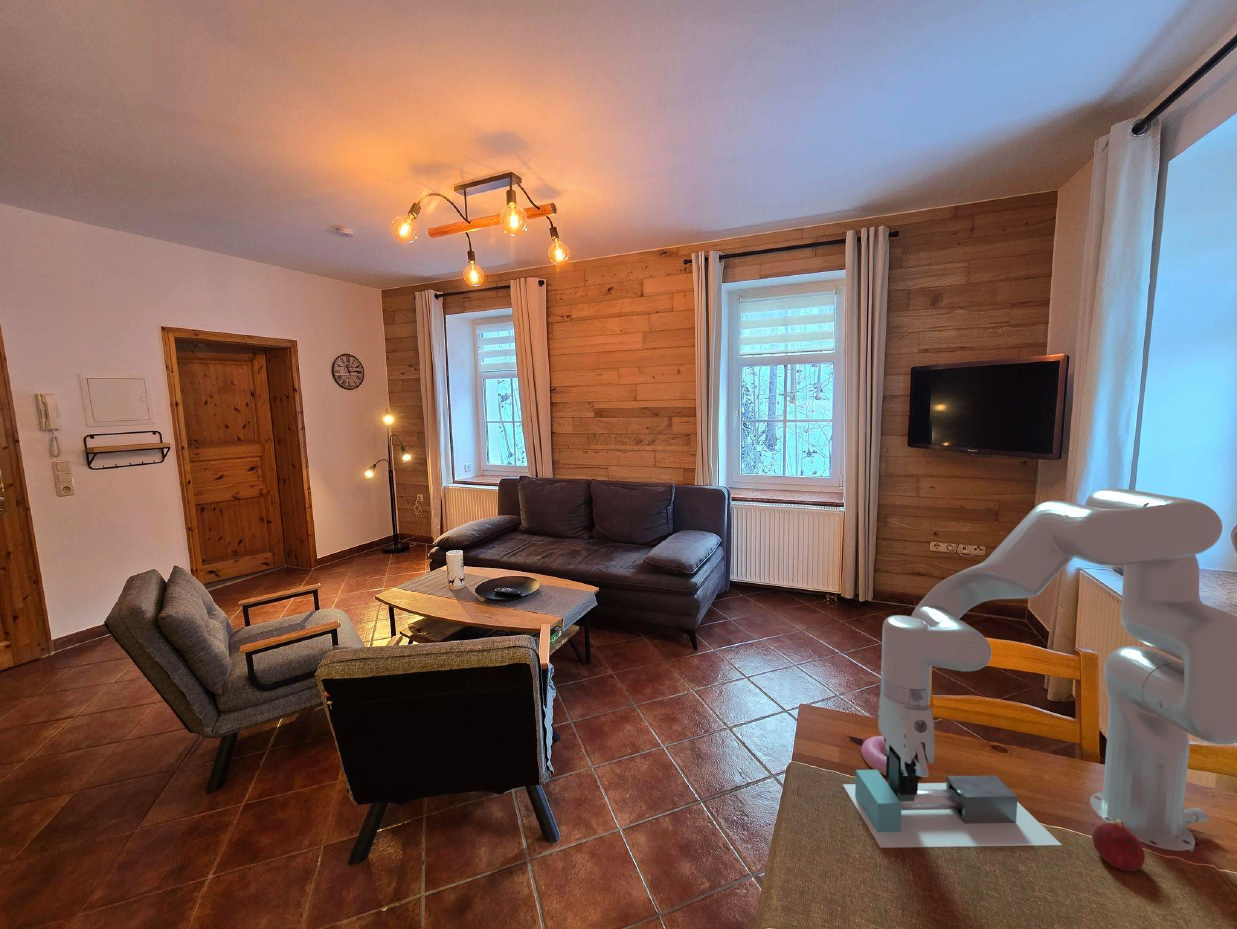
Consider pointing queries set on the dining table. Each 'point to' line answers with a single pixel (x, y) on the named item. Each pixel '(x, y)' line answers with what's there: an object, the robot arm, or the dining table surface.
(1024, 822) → the base board
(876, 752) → the doughnut
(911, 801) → the silver bolt with handle
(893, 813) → the socket
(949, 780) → the sleeve
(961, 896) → the dining table surface
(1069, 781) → the dining table surface
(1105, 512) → the robot arm
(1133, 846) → the onion
